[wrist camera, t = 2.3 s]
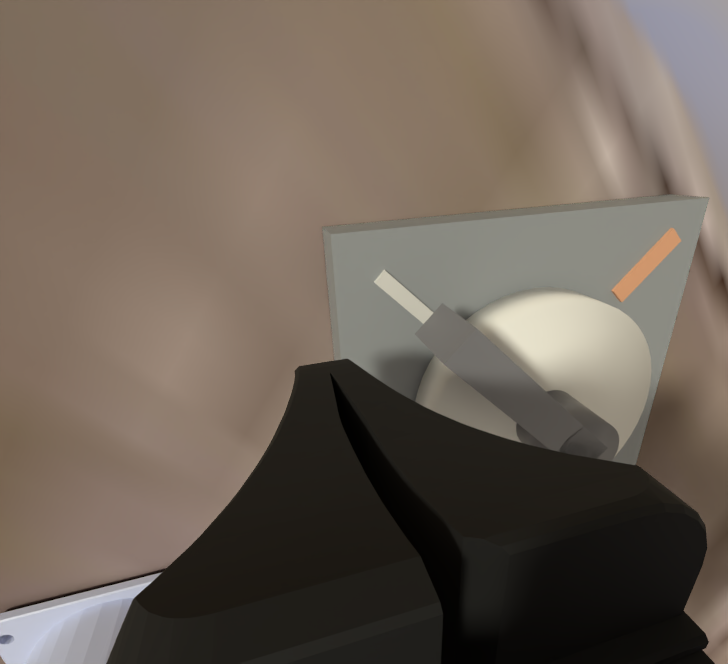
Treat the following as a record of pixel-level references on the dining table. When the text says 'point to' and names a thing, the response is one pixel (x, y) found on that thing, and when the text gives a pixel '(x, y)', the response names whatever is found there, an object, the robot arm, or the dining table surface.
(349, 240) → the dial plate
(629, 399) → the dial
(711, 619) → the dining table surface
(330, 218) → the dining table surface
